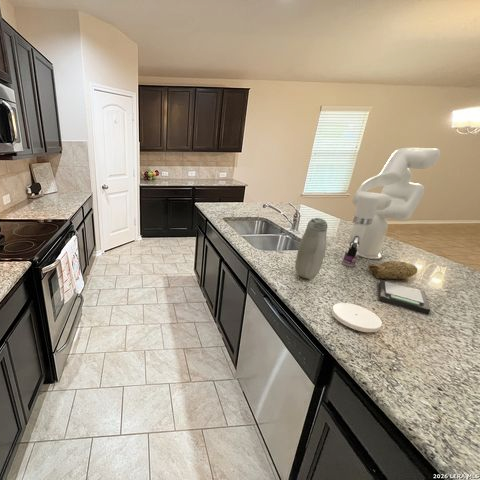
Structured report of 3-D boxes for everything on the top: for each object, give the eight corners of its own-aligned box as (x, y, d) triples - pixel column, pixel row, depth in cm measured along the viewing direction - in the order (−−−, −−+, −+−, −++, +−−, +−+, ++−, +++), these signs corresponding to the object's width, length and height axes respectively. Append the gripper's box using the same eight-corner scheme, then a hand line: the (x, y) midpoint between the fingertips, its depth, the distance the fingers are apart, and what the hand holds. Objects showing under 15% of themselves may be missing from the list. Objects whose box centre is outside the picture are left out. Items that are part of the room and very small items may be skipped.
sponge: (381, 284, 114) (431, 279, 110) (380, 268, 112) (431, 262, 109) (362, 275, 126) (407, 270, 123) (361, 260, 125) (406, 254, 122)
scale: (378, 284, 112) (380, 278, 111) (422, 295, 103) (424, 289, 102) (379, 300, 100) (381, 294, 99) (428, 315, 92) (431, 308, 91)
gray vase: (320, 282, 112) (337, 223, 102) (296, 280, 114) (310, 221, 104) (313, 272, 121) (327, 216, 111) (290, 270, 123) (302, 215, 113)
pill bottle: (353, 267, 126) (358, 250, 122) (340, 264, 130) (345, 247, 126) (355, 264, 129) (361, 247, 126) (343, 261, 133) (349, 244, 129)
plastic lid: (366, 311, 94) (368, 305, 93) (389, 338, 81) (391, 331, 80) (324, 306, 96) (326, 300, 96) (340, 331, 84) (342, 324, 83)
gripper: (353, 215, 129) (343, 246, 135) (351, 222, 116) (341, 256, 123) (371, 218, 125) (361, 250, 131) (371, 226, 112) (360, 260, 118)
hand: (351, 253), depth 127 cm, fingers open, 9 cm apart
